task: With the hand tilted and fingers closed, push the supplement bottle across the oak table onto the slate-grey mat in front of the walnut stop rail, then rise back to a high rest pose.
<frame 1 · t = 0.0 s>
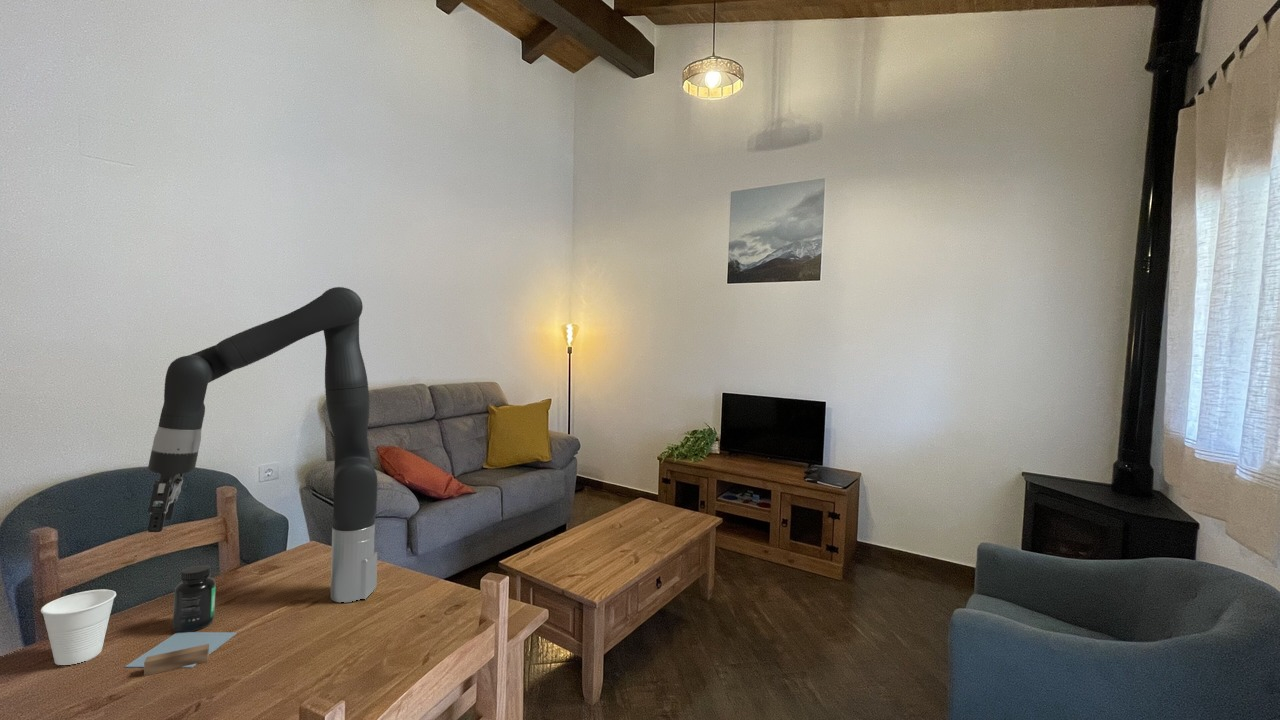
hand: (160, 525, 110), 22 cm above the table, tool pointing down, fingers open, 8 cm apart
stop rail: (177, 665, 99), on the table
supplement bottle: (193, 625, 113), on the table, touching mat
cup: (78, 658, 101), on the table
mat: (184, 649, 105), on the table
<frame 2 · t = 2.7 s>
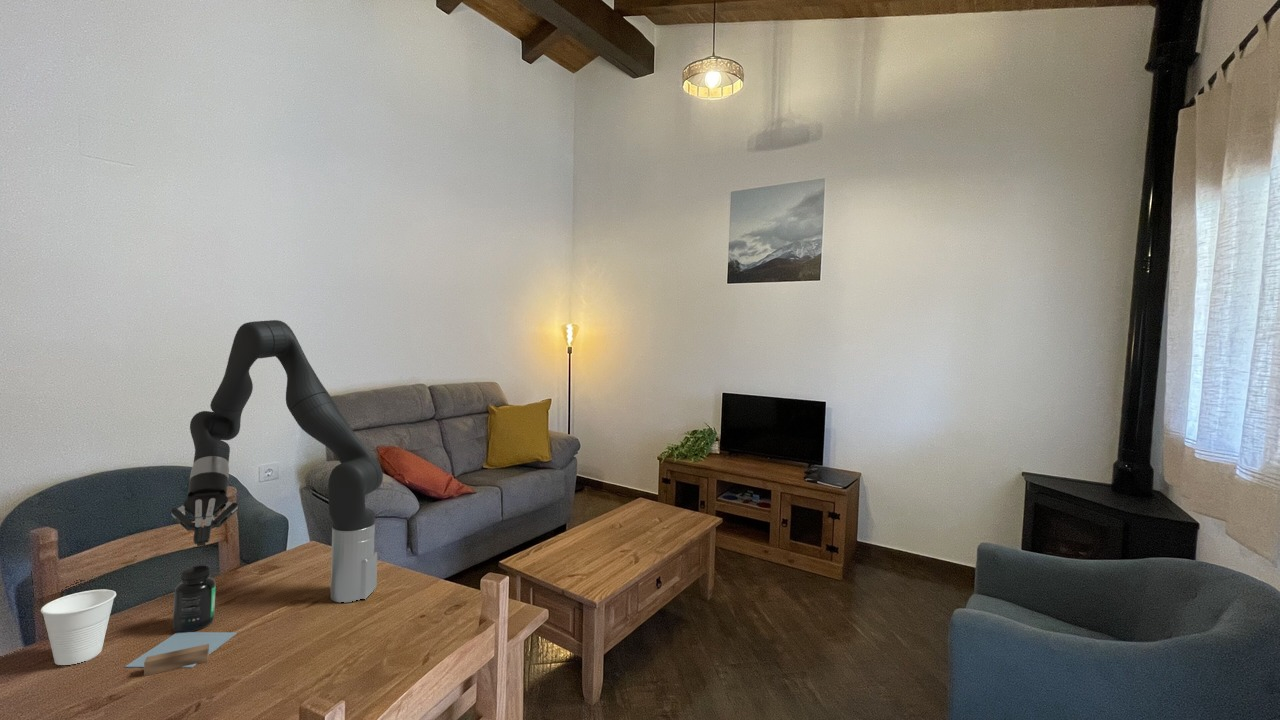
hand: (201, 544, 122), 14 cm above the table, tool tilted 45°, fingers closed
nothing on the table moved.
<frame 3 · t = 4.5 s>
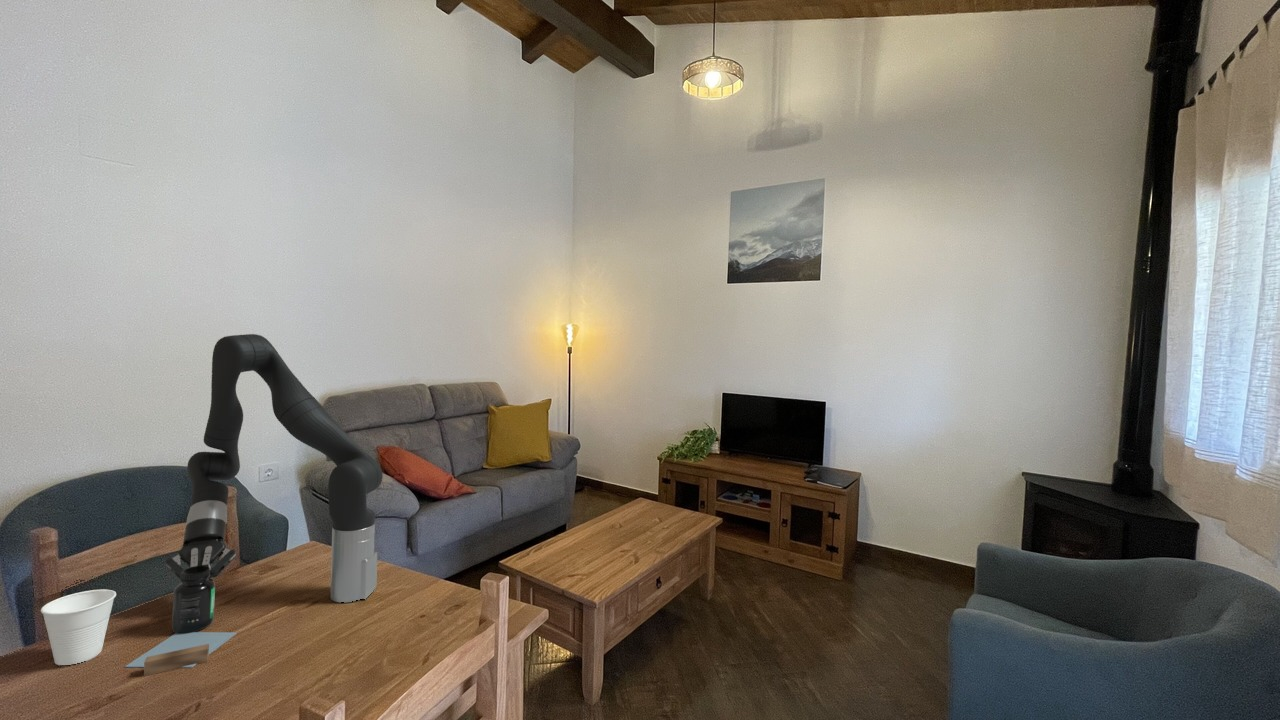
hand: (196, 596, 116), 5 cm above the table, tool tilted 45°, fingers closed
supplement bottle: (193, 627, 113), on the table, touching gripper
everything else where it was.
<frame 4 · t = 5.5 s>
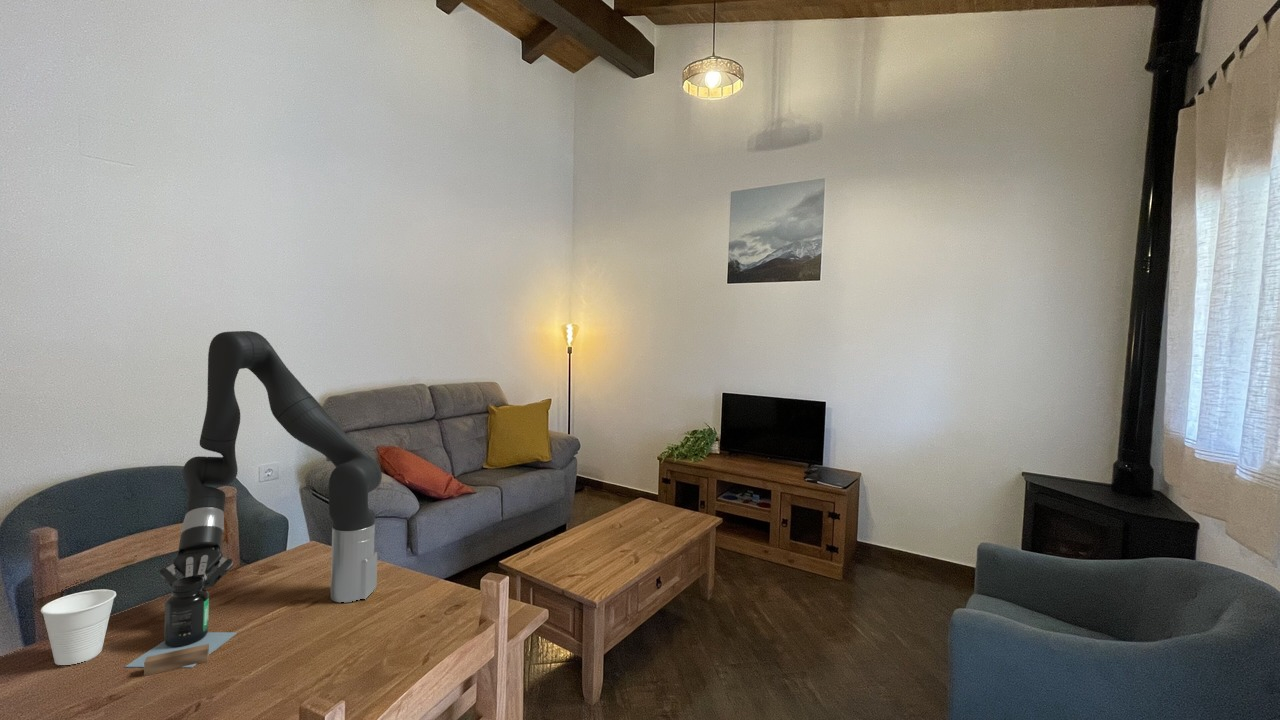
hand: (191, 608, 111), 5 cm above the table, tool tilted 45°, fingers closed
supplement bottle: (186, 639, 108), resting on mat, touching gripper
everything else where it was.
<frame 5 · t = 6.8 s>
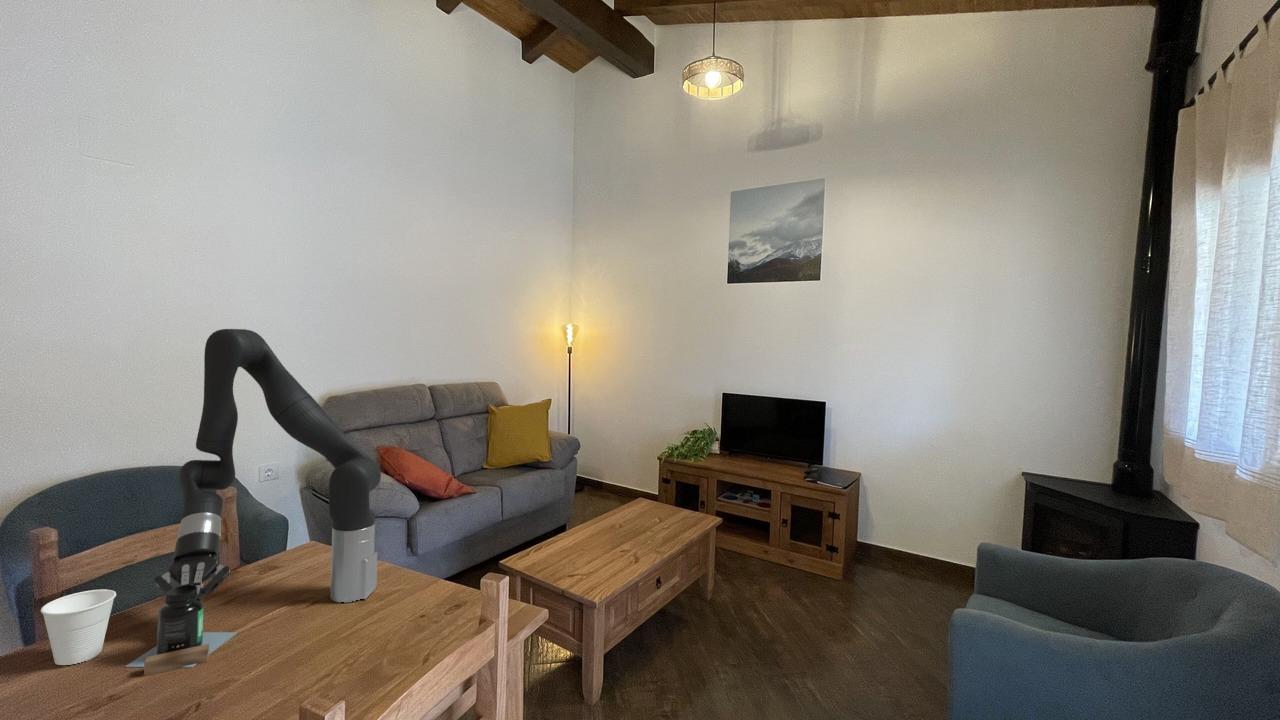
hand: (187, 617, 108), 5 cm above the table, tool tilted 45°, fingers closed
supplement bottle: (180, 651, 104), resting on mat, touching gripper
everything else where it was.
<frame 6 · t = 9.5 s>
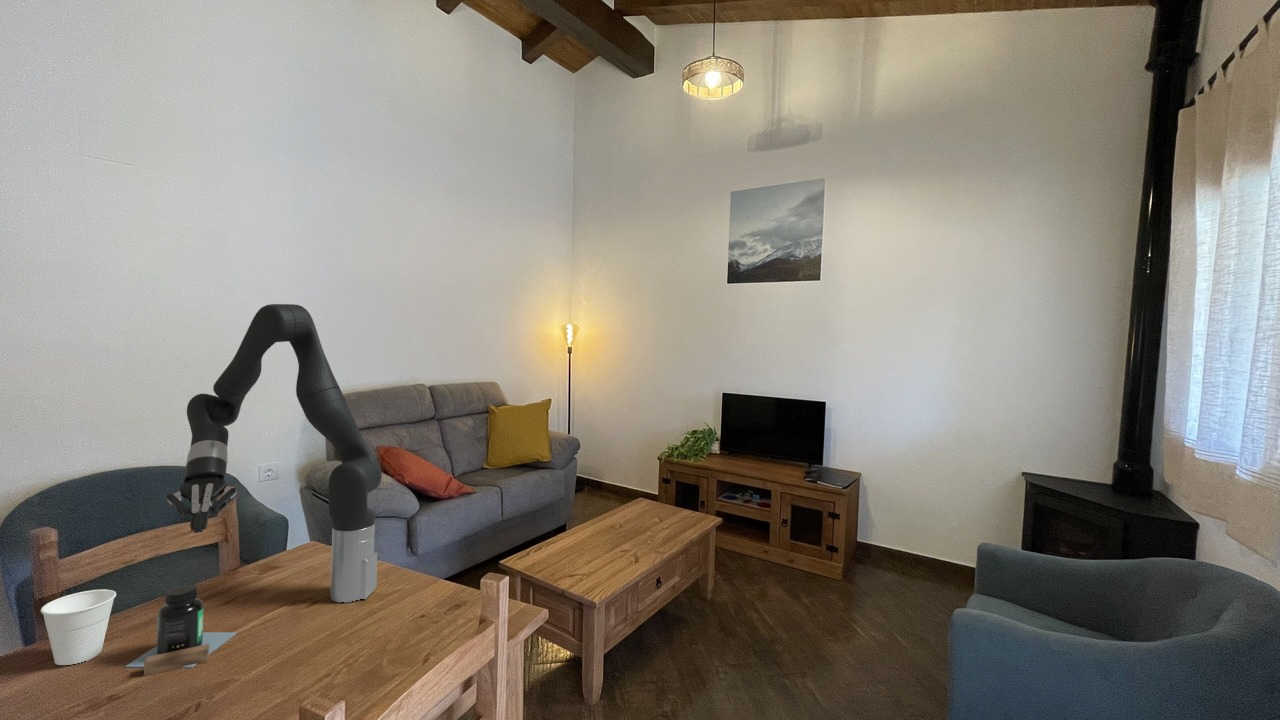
hand: (198, 530, 116), 20 cm above the table, tool tilted 45°, fingers closed
supplement bottle: (180, 651, 104), resting on mat
everything else where it was.
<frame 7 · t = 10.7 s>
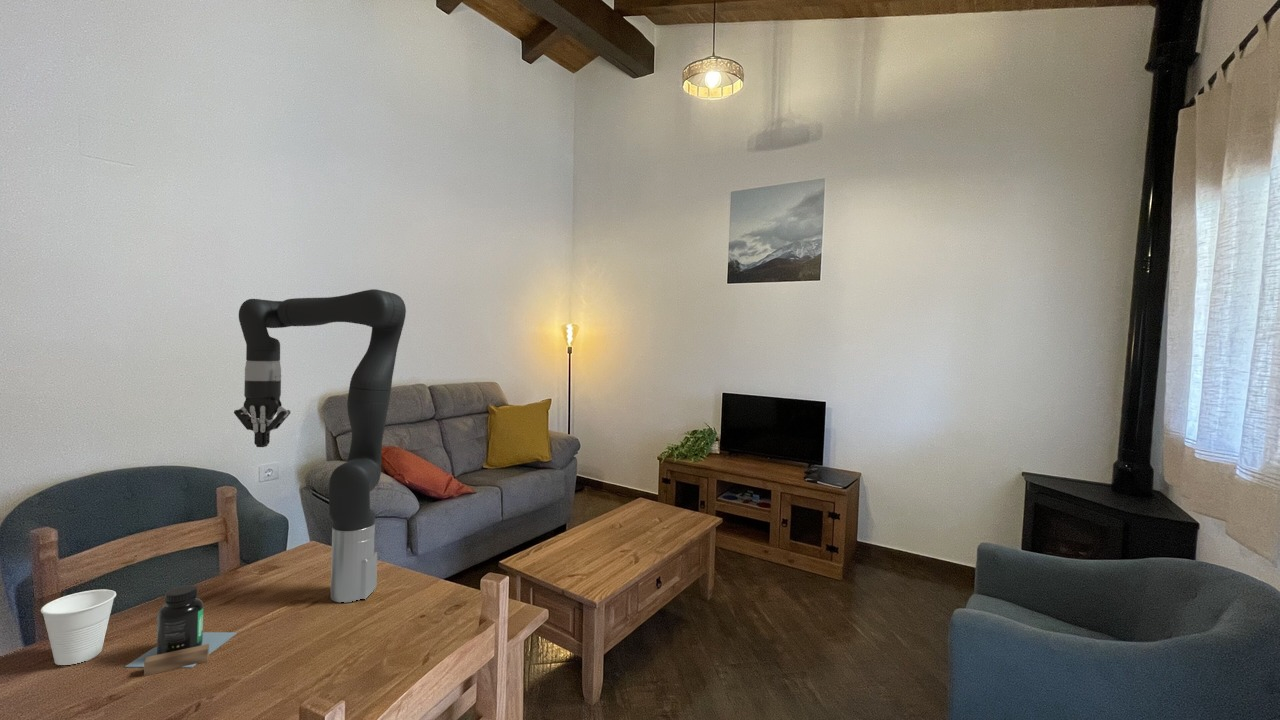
hand: (262, 446, 134), 35 cm above the table, tool pointing down, fingers closed
nothing on the table moved.
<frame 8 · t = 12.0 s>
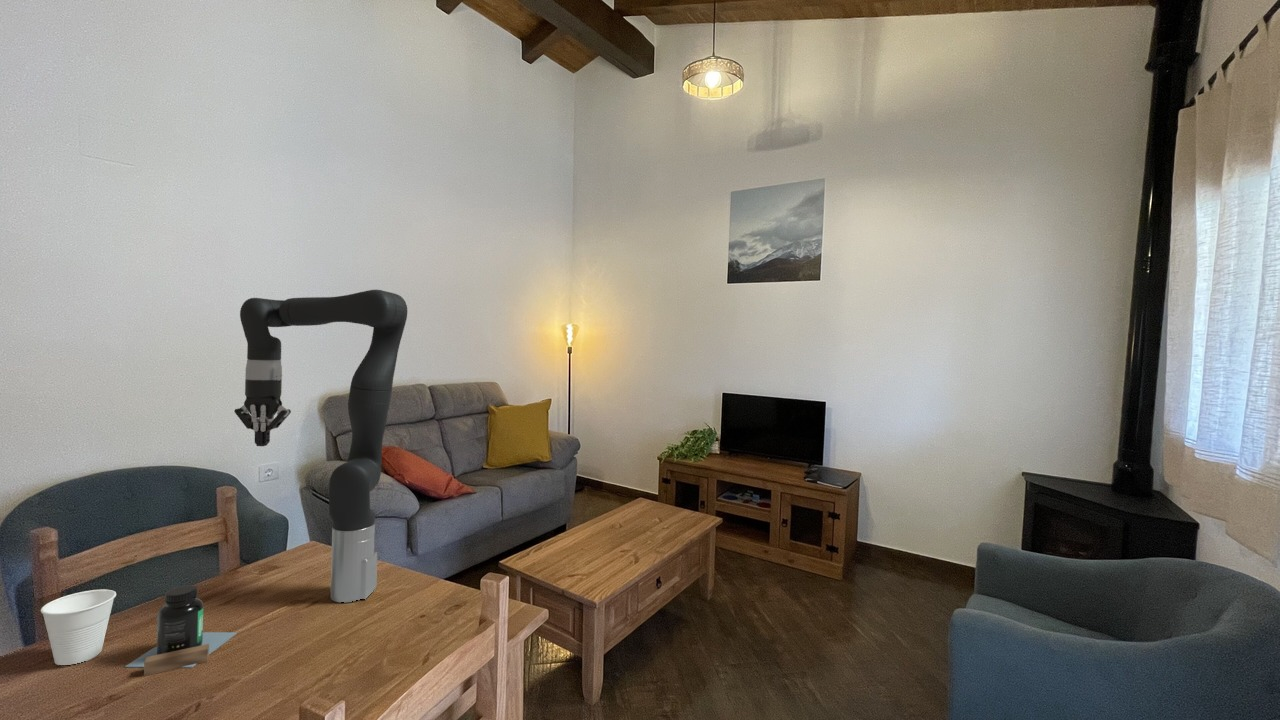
hand: (262, 445, 134), 35 cm above the table, tool pointing down, fingers closed
nothing on the table moved.
at the end: supplement bottle 0.7 cm from the mat (horizontally); supplement bottle tilted 0°; supplement bottle moved 10.7 cm from its start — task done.
